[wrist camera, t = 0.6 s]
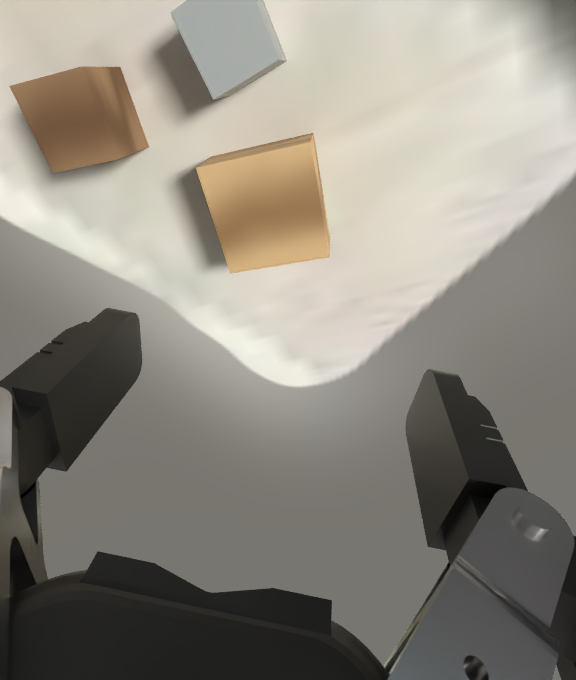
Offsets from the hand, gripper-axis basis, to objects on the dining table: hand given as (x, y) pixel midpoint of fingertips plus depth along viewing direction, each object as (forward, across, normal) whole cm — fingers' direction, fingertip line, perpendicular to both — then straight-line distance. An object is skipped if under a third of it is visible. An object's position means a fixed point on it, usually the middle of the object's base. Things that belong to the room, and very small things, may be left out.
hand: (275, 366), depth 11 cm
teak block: (+20, +3, 0) cm, 20 cm away
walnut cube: (+19, +15, -4) cm, 24 cm away
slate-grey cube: (+19, +6, -9) cm, 22 cm away
